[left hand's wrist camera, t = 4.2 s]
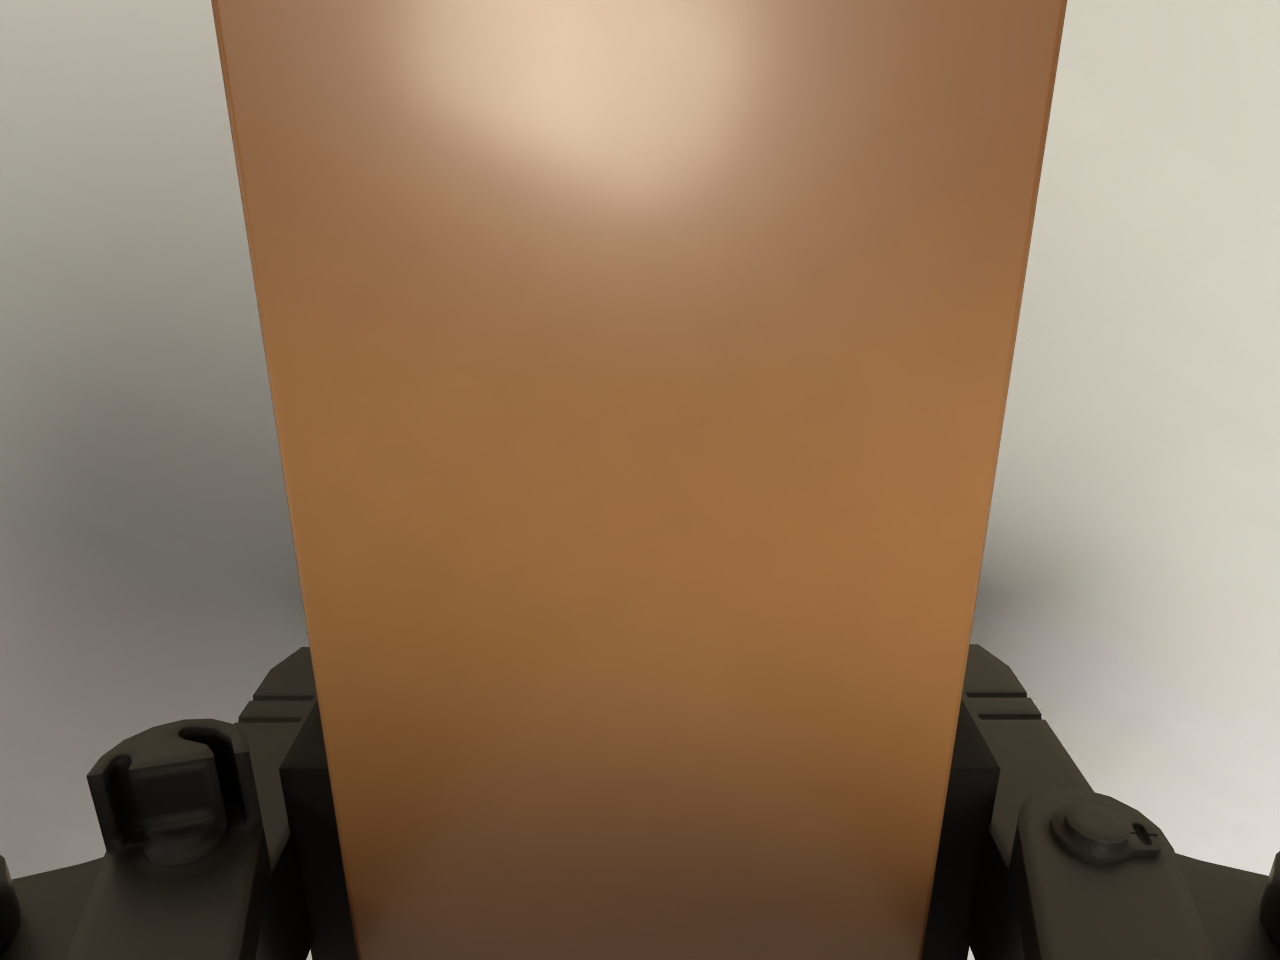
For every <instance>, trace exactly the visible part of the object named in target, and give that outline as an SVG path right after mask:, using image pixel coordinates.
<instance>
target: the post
mask: <svg viewBox="0 0 1280 960" xmlns="http://www.w3.org/2000/svg"><path fill="white" fill-rule="evenodd" d="M211 2H212V8H213V15H214V21H215V28H216V34H217V41H218V48H219V54H220V61H221V67H222V74H223V80H224V87H225V93H226V100H227V107H228V113H229V120H230V126H231V133H232V139H233V146H234V152H235V159H236V166H237V172H238V179H239V185H240V192H241V198H242V205H243V212H244V218H245V225H246V231H247V238H248V244H249V251H250V257H251V264H252V271H253V277H254V284H255V290H256V297H257V303H258V310H259V317H260V323H261V330H262V336H263V343H264V349H265V356H266V362H267V369H268V376H269V382H270V389H271V395H272V402H273V408H274V415H275V421H276V428H277V435H278V441H279V448H280V454H281V461H282V467H283V474H284V481H285V487H286V494H287V500H288V507H289V513H290V520H291V526H292V533H293V540H294V546H295V553H296V559H297V566H298V572H299V579H300V585H301V592H302V599H303V605H304V612H305V618H306V625H307V631H308V638H309V645H310V651H311V658H312V664H313V671H314V677H315V684H316V690H317V697H318V704H319V710H320V717H321V723H322V730H323V736H324V743H325V749H326V756H327V763H328V769H329V776H330V782H331V789H332V795H333V802H334V809H335V815H336V822H337V828H338V835H339V841H340V848H341V854H342V861H343V868H344V874H345V881H346V887H347V894H348V900H349V907H350V914H351V920H352V927H353V933H354V940H355V946H356V953H357V959H358V960H922V953H923V947H924V940H925V933H926V927H927V920H928V914H929V907H930V901H931V894H932V887H933V881H934V874H935V868H936V861H937V854H938V848H939V841H940V835H941V828H942V822H943V815H944V808H945V802H946V795H947V789H948V782H949V775H950V769H951V762H952V756H953V749H954V742H955V736H956V729H957V723H958V716H959V710H960V703H961V696H962V690H963V683H964V677H965V670H966V663H967V657H968V650H969V644H970V637H971V630H972V624H973V617H974V611H975V604H976V598H977V591H978V584H979V578H980V571H981V565H982V558H983V551H984V545H985V538H986V532H987V525H988V518H989V512H990V505H991V499H992V492H993V486H994V479H995V472H996V466H997V459H998V453H999V446H1000V439H1001V433H1002V426H1003V420H1004V413H1005V406H1006V400H1007V393H1008V387H1009V380H1010V374H1011V367H1012V360H1013V354H1014V347H1015V341H1016V334H1017V327H1018V321H1019V314H1020V308H1021V301H1022V294H1023V288H1024V281H1025V275H1026V268H1027V262H1028V255H1029V248H1030V242H1031V235H1032V229H1033V222H1034V215H1035V209H1036V202H1037V196H1038V189H1039V182H1040V176H1041V169H1042V163H1043V156H1044V150H1045V143H1046V136H1047V130H1048V123H1049V117H1050V110H1051V103H1052V97H1053V90H1054V84H1055V77H1056V71H1057V64H1058V57H1059V51H1060V44H1061V38H1062V31H1063V24H1064V18H1065V11H1066V5H1067V0H211Z"/></svg>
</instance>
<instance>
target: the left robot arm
mask: <svg viewBox="0 0 1280 960" xmlns="http://www.w3.org/2000/svg"><path fill="white" fill-rule="evenodd" d="M86 777H87V780H88V784H89V788H90V791H91V795H92V799H93V802H94V806H95V810H96V813H97V817H98V821H99V824H100V828H101V832H102V835H103V839H104V843H105V846H106V850H107V851H106V853H105V856H104V857H102V858H99V859H96V860H92V861H89V862H86V863H82V864H79V865H74V866H70V867H66V868H61V869H57V870H53V871H48V872H44V873H39V874H35V875H31V876H26V877H22V878H17V879H13V880H11V877H10V874H9V871H8V868H7V865H6V862H5V859H4V858H3V857H2V856H1V855H0V960H306V959H307V956H308V954H309V951H310V948H311V954H312V960H358V959H357V953H356V946H355V940H354V933H353V927H352V920H351V914H350V907H349V900H348V894H347V887H346V881H345V874H344V868H343V861H342V854H341V848H340V841H339V835H338V828H337V822H336V815H335V809H334V802H333V795H332V789H331V782H330V776H329V769H328V763H327V756H326V749H325V743H324V736H323V730H322V723H321V717H320V710H319V704H318V697H317V690H316V684H315V677H314V671H313V664H312V658H311V651H310V647H301V648H300V649H299V650H297V651H296V652H295V653H293V654H292V655H290V656H289V657H288V658H286V659H285V660H283V661H282V662H281V663H279V664H278V665H276V666H275V667H274V668H272V669H271V670H270V671H269V673H268V674H267V676H266V677H265V679H264V680H263V682H262V683H261V685H260V686H259V688H258V689H257V691H256V692H255V694H254V695H253V701H249V703H248V704H247V706H246V707H245V709H244V710H243V712H242V713H241V715H240V716H239V721H238V723H234V724H230V723H226V722H222V721H218V720H214V719H191V720H181V721H176V722H172V723H168V724H164V725H160V726H156V727H152V728H150V729H148V730H146V731H143V732H141V733H139V734H137V735H134V736H132V737H130V738H128V739H126V740H124V741H122V742H121V743H120V744H118V745H117V746H115V747H114V748H113V749H111V750H110V751H109V752H107V753H106V754H104V755H103V756H102V757H101V758H100V759H99V760H98V761H97V763H96V764H95V765H94V767H93V768H92V769H91V771H90V772H89V773H88V775H87V776H86ZM969 945H970V948H971V950H972V953H973V955H974V958H975V960H1280V852H1278V853H1277V854H1276V856H1275V859H1274V862H1273V866H1272V869H1271V872H1270V875H1269V876H1266V875H1262V874H1257V873H1253V872H1248V871H1244V870H1240V869H1235V868H1231V867H1226V866H1222V865H1218V864H1213V863H1209V862H1204V861H1200V860H1197V859H1193V858H1190V857H1187V856H1183V855H1180V854H1176V853H1175V852H1174V849H1173V848H1172V846H1171V845H1170V843H1169V842H1168V840H1167V838H1166V837H1165V835H1164V834H1163V832H1162V831H1161V829H1160V828H1159V827H1157V826H1156V825H1155V824H1154V823H1152V822H1151V821H1150V820H1149V819H1148V818H1146V817H1145V816H1144V815H1143V814H1141V813H1140V812H1139V811H1138V810H1136V809H1134V808H1132V807H1130V806H1128V805H1126V804H1124V803H1122V802H1120V801H1118V800H1116V799H1114V798H1112V797H1110V796H1106V795H1102V794H1098V793H1095V792H1094V791H1093V790H1092V788H1091V787H1090V785H1089V784H1088V782H1087V781H1086V779H1085V778H1084V776H1083V775H1082V773H1081V772H1080V770H1079V769H1078V768H1077V766H1076V765H1075V763H1074V762H1073V760H1072V759H1071V757H1070V756H1069V754H1068V753H1067V751H1066V750H1065V748H1064V747H1063V745H1062V744H1061V742H1060V741H1059V739H1058V738H1057V737H1056V735H1055V734H1054V732H1053V731H1052V729H1051V728H1050V726H1049V725H1048V723H1047V722H1046V720H1042V718H1041V713H1040V711H1039V710H1038V708H1037V707H1036V706H1035V704H1034V703H1033V701H1032V700H1031V698H1027V692H1026V691H1025V689H1024V688H1023V686H1022V685H1021V683H1020V682H1019V680H1018V679H1017V678H1016V676H1015V675H1014V673H1013V672H1012V670H1011V669H1010V667H1009V666H1008V665H1006V664H1005V663H1003V662H1002V661H1001V660H999V659H998V658H996V657H995V656H994V655H992V654H991V653H989V652H988V651H987V650H985V649H984V648H982V647H981V646H980V645H978V644H969V650H968V657H967V663H966V670H965V677H964V683H963V690H962V696H961V703H960V710H959V716H958V723H957V729H956V736H955V742H954V749H953V756H952V762H951V769H950V775H949V782H948V789H947V795H946V802H945V808H944V815H943V822H942V828H941V835H940V841H939V848H938V854H937V861H936V868H935V874H934V881H933V887H932V894H931V901H930V907H929V914H928V920H927V927H926V933H925V940H924V947H923V953H922V960H967V957H968V951H969Z"/></svg>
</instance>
